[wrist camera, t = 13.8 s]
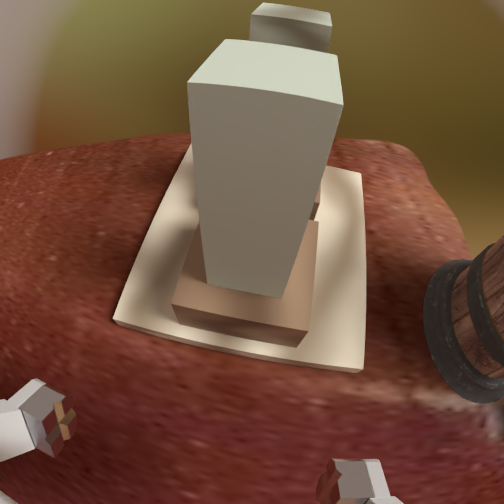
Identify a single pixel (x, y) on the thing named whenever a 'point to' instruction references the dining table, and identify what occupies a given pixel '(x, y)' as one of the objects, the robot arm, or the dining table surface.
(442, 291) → the tankard
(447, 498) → the dining table surface
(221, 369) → the dining table surface
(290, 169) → the sage column
